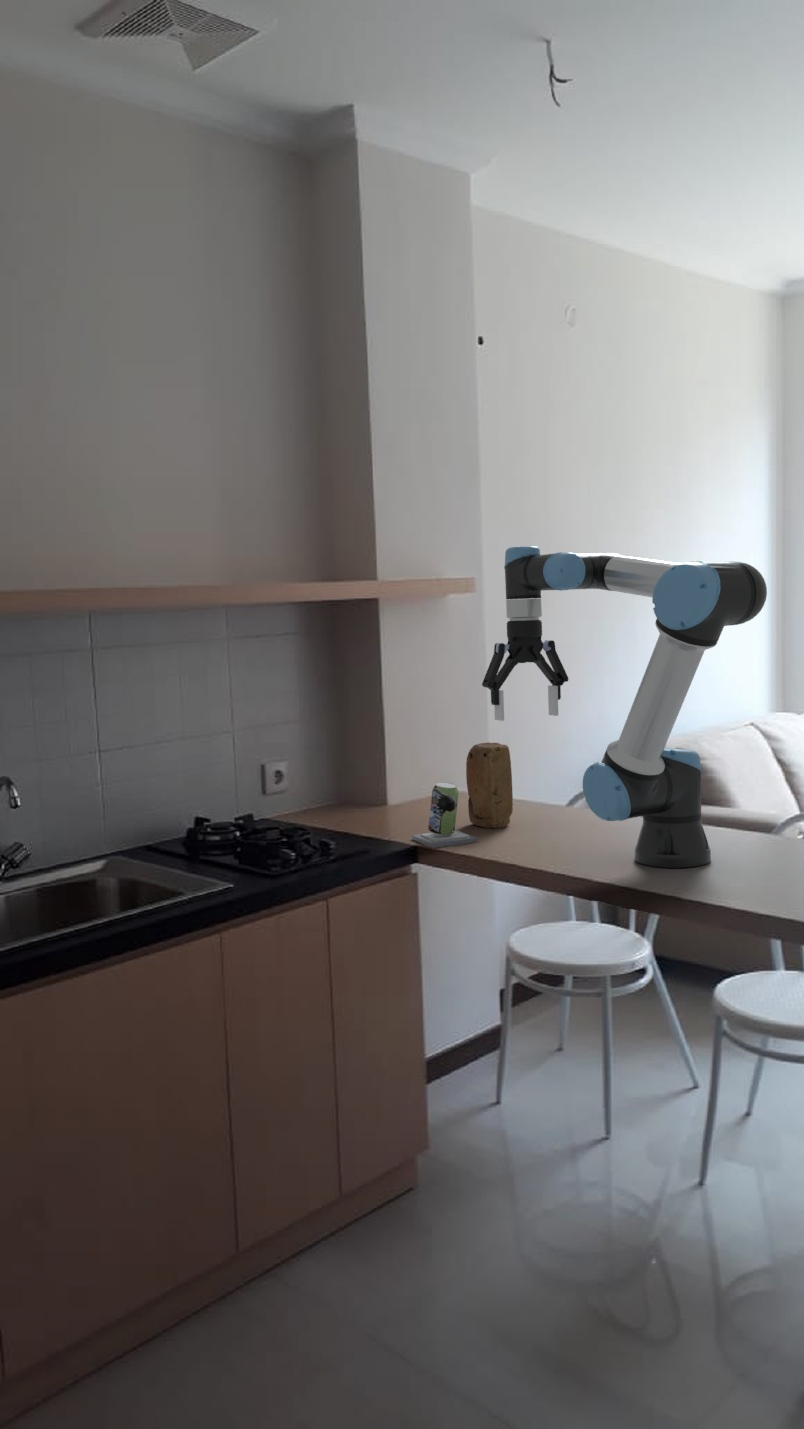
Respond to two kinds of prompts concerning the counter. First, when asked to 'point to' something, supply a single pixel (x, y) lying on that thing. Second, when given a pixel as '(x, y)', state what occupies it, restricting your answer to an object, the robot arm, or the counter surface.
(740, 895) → the counter surface
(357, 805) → the counter surface
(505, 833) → the counter surface
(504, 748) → the block
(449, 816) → the beverage can
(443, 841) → the plate
